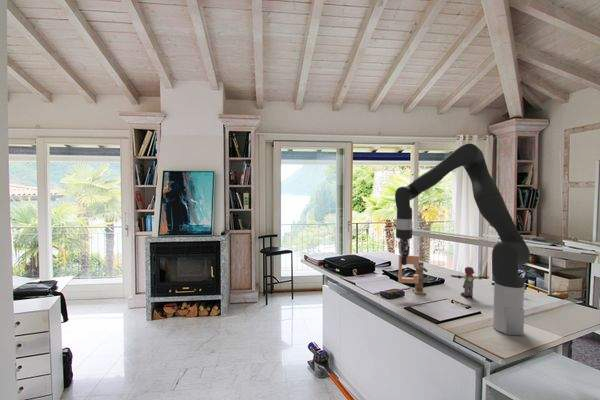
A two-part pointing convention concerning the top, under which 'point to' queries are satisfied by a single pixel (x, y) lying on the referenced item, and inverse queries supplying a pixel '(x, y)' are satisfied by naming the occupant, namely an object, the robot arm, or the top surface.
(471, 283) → the toy
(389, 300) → the top surface
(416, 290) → the stand
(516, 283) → the robot arm
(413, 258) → the tan c-shaped block
